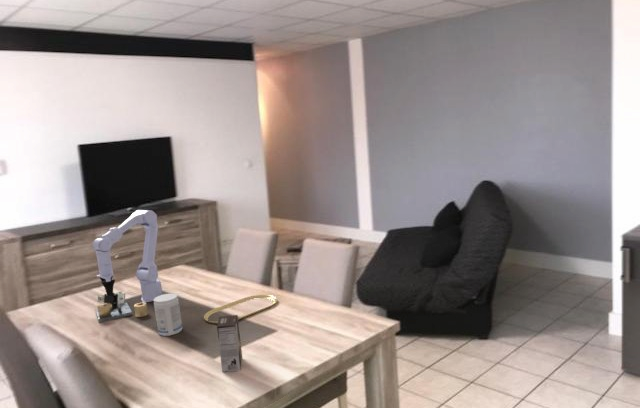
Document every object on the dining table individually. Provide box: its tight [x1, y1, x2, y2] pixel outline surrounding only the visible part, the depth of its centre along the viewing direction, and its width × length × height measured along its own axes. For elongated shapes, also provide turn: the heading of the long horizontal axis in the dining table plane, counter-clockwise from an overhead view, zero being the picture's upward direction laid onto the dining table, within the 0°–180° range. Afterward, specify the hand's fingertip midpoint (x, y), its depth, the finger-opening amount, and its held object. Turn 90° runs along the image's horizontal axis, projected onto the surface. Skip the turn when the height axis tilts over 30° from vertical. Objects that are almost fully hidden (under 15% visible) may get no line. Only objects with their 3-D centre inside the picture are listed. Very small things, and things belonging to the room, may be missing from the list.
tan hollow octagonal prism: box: [133, 301, 149, 318], centre depth 228 cm, size 5×5×5 cm
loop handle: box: [203, 294, 278, 325], centre depth 225 cm, size 19×35×2 cm, turn 135°
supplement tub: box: [153, 293, 183, 337], centre depth 205 cm, size 10×10×15 cm
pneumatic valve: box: [96, 291, 126, 305], centre depth 244 cm, size 6×12×12 cm
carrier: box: [94, 301, 133, 323], centre depth 233 cm, size 14×16×7 cm
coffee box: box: [216, 314, 243, 373], centre depth 171 cm, size 9×6×16 cm
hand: (109, 293), depth 232 cm, fingers open, 7 cm apart
